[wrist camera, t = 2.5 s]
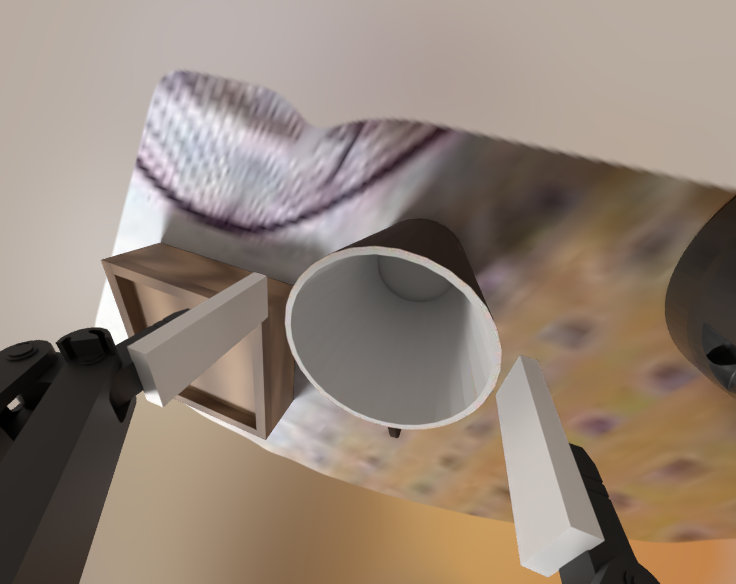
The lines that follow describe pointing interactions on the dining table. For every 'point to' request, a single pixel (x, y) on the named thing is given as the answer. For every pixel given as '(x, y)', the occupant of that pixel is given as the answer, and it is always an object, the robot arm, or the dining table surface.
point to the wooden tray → (242, 362)
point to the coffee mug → (396, 329)
